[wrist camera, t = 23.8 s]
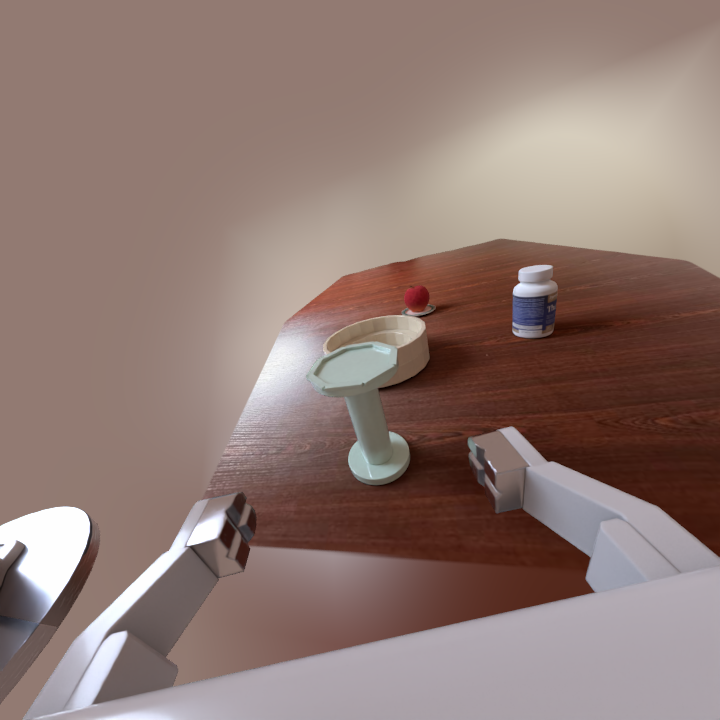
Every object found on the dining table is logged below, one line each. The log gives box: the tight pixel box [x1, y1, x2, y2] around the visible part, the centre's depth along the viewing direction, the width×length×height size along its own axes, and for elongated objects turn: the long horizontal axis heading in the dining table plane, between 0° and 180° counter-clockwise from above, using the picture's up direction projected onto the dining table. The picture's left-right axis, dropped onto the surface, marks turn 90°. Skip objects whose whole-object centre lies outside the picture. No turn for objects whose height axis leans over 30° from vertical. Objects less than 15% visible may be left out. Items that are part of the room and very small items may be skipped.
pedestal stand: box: [306, 341, 410, 485], centre depth 23 cm, size 7×7×11 cm
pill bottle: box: [513, 265, 558, 338], centre depth 38 cm, size 5×5×10 cm
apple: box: [402, 286, 435, 316], centre depth 61 cm, size 8×8×6 cm
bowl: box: [323, 315, 430, 388], centre depth 42 cm, size 16×16×6 cm
